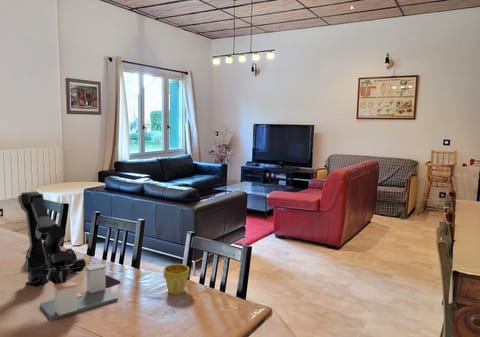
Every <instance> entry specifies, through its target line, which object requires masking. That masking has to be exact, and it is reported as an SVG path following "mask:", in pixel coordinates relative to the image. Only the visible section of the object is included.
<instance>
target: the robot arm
mask: <svg viewBox="0 0 480 337" xmlns="http://www.w3.org/2000/svg"><path fill="white" fill-rule="evenodd" d="M17 199H18V200H17V202H18V204H19V205H20V208H21V210H22V211H23V212H24V213H25V214H26V222H27V223H26V224H27V231H28V232H27V233H28V240H29V247H30V249H29V248H28V249H29V251H28V253H27V252H26V254H27V258H26V257H25V261H24V263H23V264H24V270H25V271H26V272H27V274H28V275H27V279H28V281H26V282H25V285H28V286H29V285H30V286H34V287H40V286H41V285H43V284H45V283H47V282H51V283H53V285H56V284H60V283H65V282H67V278H68V277H69V275H70V273H73V274H75V273H80V272H82V271H84V269H85V268H86V265H87V263H86V260H85V259H84V258H79V259H78V258H77V260H73V262H72V264H70V265H65V264H67V260H69V258H71V257H73V251H72V250H73V249H72V248H66V249H65V250H62V248H61V245H62V244H63V241H64V239H65V237H66V230H65V229H64V228H63V227H61V226H60V225H59V224H58V223H56V221H55V219H52V218H51V217H50V216H49V213H48V210H47V207H46V204H45V201H44V194H43V193H40V192H38V191H26V192H21V193H20V195H18V197H17ZM63 251H65V252H63ZM47 268H48V269H47ZM70 271H71V272H70Z"/></svg>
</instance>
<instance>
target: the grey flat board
mask: <svg viewBox="0 0 480 337" xmlns="http://www.w3.org/2000/svg"><path fill="white" fill-rule="evenodd" d="M118 300H119V299H118V296H116V295H115V294H113V293H112V291H110V290H109V289H107V288H106V289H105V290H101V291H97V292H94V293H90V292H89V291H87V290H86V291H82V292H79V293H77V310H76V311H73V312H69V313H66V314H62V315H58V314H57V313H56V311H55V299H53V300H49V301H46V302H41V303H39V307H40V309H41V310H42V311H43V312H44V314H45V315H46V316H47V317H48V318H49V320H50V321H54V320H57V319H61V318H65V317H68V316H72V315H75V314H78V313H82V312H84V311H88V310H91V309H93V308H94V309H95V308H97V307H101V306H104V305H108V304H112V303H115V302H118Z"/></svg>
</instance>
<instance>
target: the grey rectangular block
mask: <svg viewBox="0 0 480 337" xmlns="http://www.w3.org/2000/svg"><path fill="white" fill-rule="evenodd" d="M85 269H86V291H89V292H90V293H94V292H97V291H101V290H105V289H107V288H106V280H105V275H106V269H107V266H106V265H105V264H103V263H96V264H93V265H88V266H85Z"/></svg>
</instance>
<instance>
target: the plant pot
mask: <svg viewBox="0 0 480 337" xmlns="http://www.w3.org/2000/svg"><path fill="white" fill-rule="evenodd" d="M189 277H190V266H187V265H186V264H181V263H174V264H169V265H167V266H165V267H164V268H163V278H164V279H165V282H166V287H167V292H168V294H171V295H180V293H181V294H183V293H184V292H185V290H186V285H187V280H188V279H189Z"/></svg>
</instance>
